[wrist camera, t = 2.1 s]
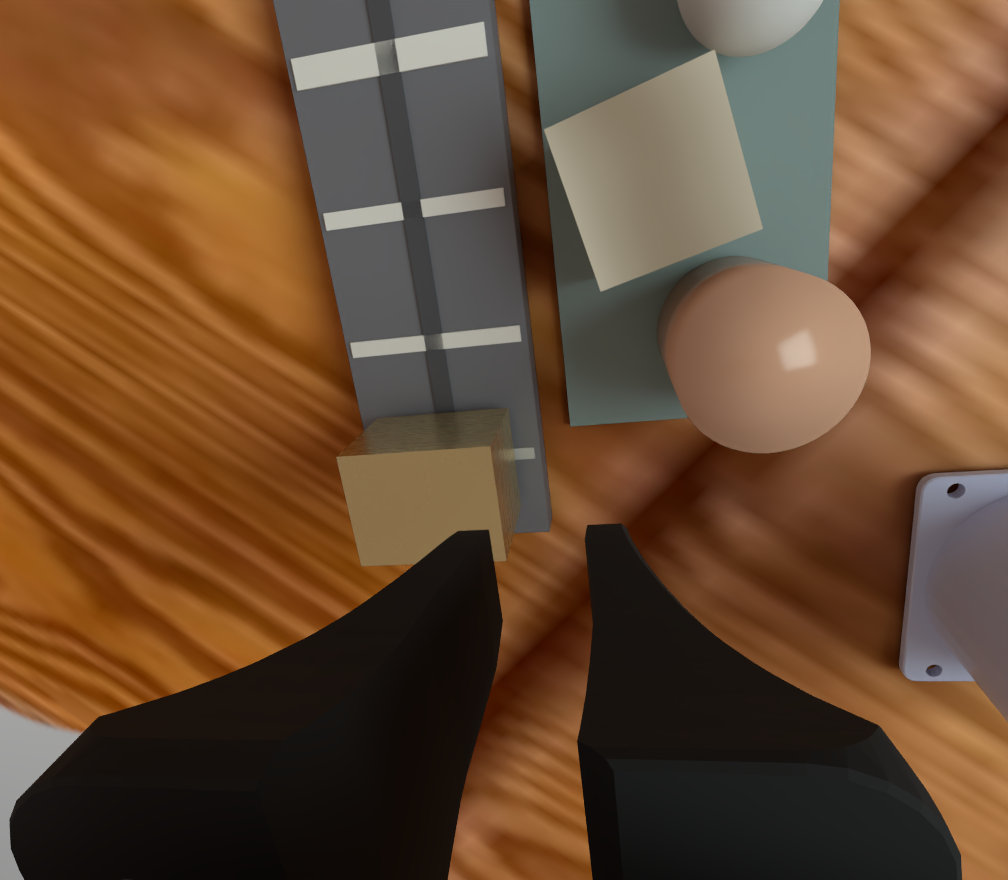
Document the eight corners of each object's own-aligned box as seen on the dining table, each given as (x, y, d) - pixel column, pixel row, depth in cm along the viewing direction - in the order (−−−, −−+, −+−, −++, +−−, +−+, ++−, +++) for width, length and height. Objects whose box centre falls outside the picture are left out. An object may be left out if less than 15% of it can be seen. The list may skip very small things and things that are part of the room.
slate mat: (840, -132, 15) (845, -138, 15) (818, 405, 20) (822, 407, 20) (524, -63, 17) (523, -68, 17) (570, 423, 21) (570, 426, 21)
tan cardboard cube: (508, 407, 20) (490, 446, 17) (521, 506, 21) (506, 561, 18) (377, 418, 21) (336, 457, 17) (397, 513, 22) (361, 566, 18)
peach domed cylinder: (806, 247, 18) (877, 259, 14) (802, 391, 20) (864, 447, 15) (653, 265, 19) (670, 282, 14) (659, 402, 20) (677, 458, 16)
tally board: (480, -122, 17) (471, -148, 15) (552, 516, 23) (549, 532, 22) (275, -73, 18) (251, -94, 16) (396, 523, 24) (385, 540, 23)
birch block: (689, 84, 17) (714, 49, 14) (730, 225, 18) (763, 228, 15) (555, 146, 18) (543, 129, 15) (600, 276, 19) (600, 291, 16)
